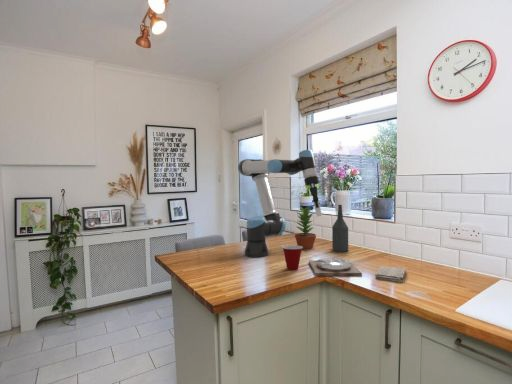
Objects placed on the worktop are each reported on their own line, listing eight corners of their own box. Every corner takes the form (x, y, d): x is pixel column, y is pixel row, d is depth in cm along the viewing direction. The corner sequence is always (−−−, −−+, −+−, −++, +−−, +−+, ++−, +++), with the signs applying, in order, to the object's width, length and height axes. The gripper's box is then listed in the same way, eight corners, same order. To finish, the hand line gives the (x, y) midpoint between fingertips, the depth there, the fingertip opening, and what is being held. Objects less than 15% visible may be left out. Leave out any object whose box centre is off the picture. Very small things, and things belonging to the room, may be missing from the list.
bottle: (349, 249, 191) (349, 204, 190) (346, 252, 183) (346, 205, 182) (334, 247, 197) (334, 203, 195) (330, 250, 188) (330, 205, 187)
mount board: (315, 276, 139) (315, 269, 139) (308, 263, 161) (308, 256, 161) (361, 276, 138) (361, 268, 138) (348, 263, 160) (348, 256, 160)
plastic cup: (302, 265, 156) (302, 243, 155) (303, 272, 145) (303, 248, 145) (282, 265, 157) (282, 243, 157) (282, 271, 146) (281, 248, 146)
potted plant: (290, 246, 203) (290, 203, 202) (309, 244, 208) (309, 203, 207) (299, 250, 189) (299, 205, 188) (320, 248, 194) (320, 204, 193)
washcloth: (374, 280, 134) (374, 273, 134) (379, 269, 149) (379, 263, 149) (403, 284, 128) (403, 277, 128) (405, 273, 143) (405, 266, 143)
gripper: (317, 170, 146) (326, 211, 142) (317, 180, 170) (325, 215, 166) (302, 174, 147) (311, 214, 143) (305, 183, 171) (312, 218, 167)
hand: (319, 215), depth 155 cm, fingers open, 13 cm apart
